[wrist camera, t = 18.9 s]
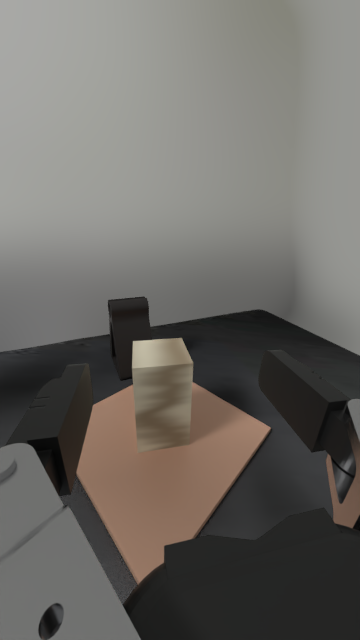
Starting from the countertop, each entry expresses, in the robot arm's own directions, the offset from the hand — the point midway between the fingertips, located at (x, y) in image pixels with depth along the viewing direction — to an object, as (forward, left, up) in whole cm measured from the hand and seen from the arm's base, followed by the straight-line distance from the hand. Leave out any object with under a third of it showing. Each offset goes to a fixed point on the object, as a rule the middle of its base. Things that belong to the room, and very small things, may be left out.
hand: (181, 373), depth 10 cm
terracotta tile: (-9, +6, -15) cm, 19 cm away
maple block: (-9, +6, -15) cm, 18 cm away
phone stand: (-24, +12, -16) cm, 31 cm away
